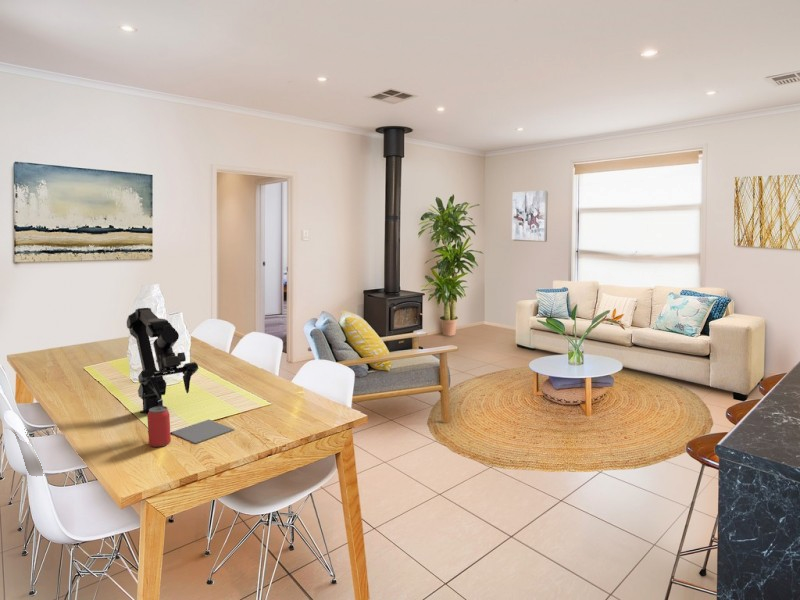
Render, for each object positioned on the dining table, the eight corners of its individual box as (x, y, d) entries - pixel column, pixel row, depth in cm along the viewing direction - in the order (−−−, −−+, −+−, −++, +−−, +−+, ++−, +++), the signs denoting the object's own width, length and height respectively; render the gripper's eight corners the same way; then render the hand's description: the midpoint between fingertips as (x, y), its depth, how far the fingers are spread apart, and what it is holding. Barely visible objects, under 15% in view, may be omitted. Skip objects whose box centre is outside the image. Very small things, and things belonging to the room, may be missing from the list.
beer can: (175, 440, 173) (173, 406, 171) (161, 448, 167) (159, 413, 165) (158, 438, 175) (156, 404, 173) (144, 446, 168) (142, 411, 167)
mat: (170, 433, 179) (170, 432, 179) (208, 420, 191) (208, 419, 191) (195, 444, 170) (195, 443, 170) (234, 430, 182) (234, 429, 182)
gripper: (140, 349, 171) (150, 393, 167) (197, 341, 183) (208, 383, 179) (134, 360, 179) (143, 403, 174) (188, 352, 191) (198, 392, 187)
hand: (174, 395), depth 178 cm, fingers open, 9 cm apart
